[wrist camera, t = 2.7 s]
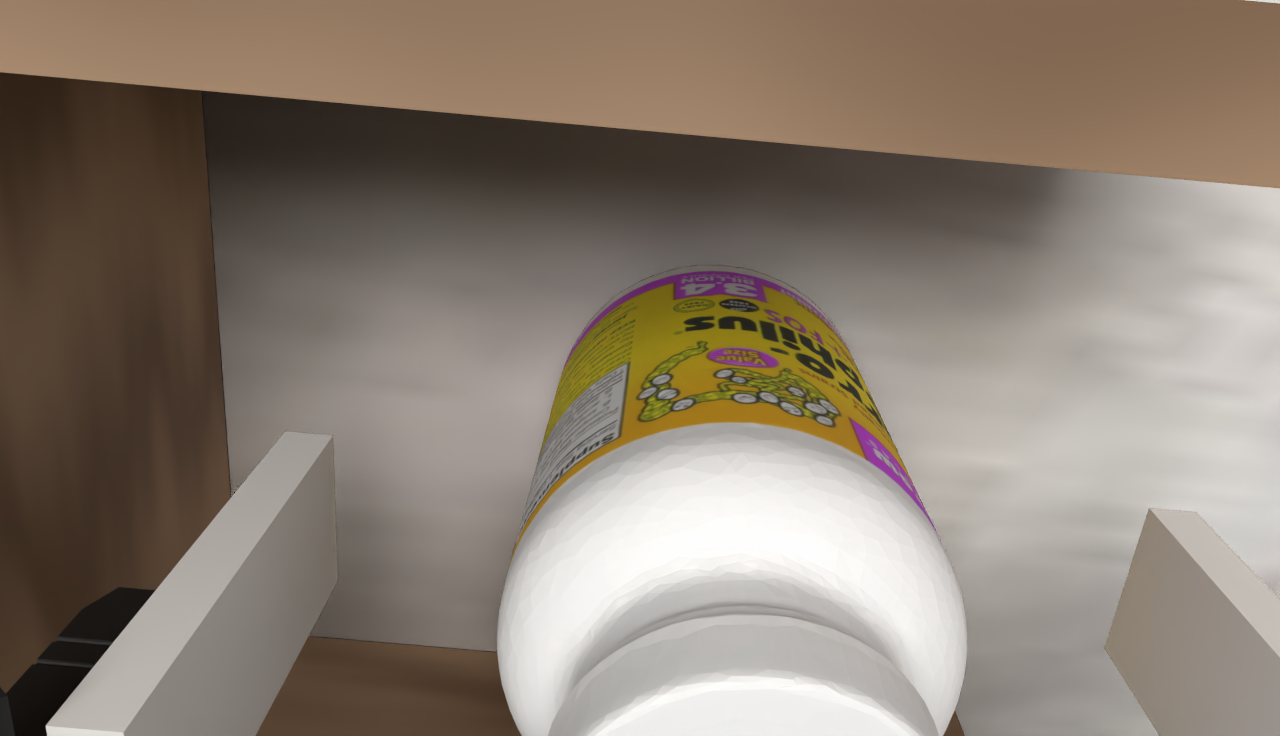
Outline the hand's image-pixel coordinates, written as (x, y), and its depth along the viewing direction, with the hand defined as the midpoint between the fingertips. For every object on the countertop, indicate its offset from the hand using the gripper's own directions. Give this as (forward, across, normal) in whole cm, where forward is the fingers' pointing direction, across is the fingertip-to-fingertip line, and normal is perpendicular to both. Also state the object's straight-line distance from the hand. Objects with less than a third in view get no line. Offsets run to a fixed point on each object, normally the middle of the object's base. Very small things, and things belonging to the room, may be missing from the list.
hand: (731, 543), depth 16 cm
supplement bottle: (+7, 0, 0) cm, 7 cm away
